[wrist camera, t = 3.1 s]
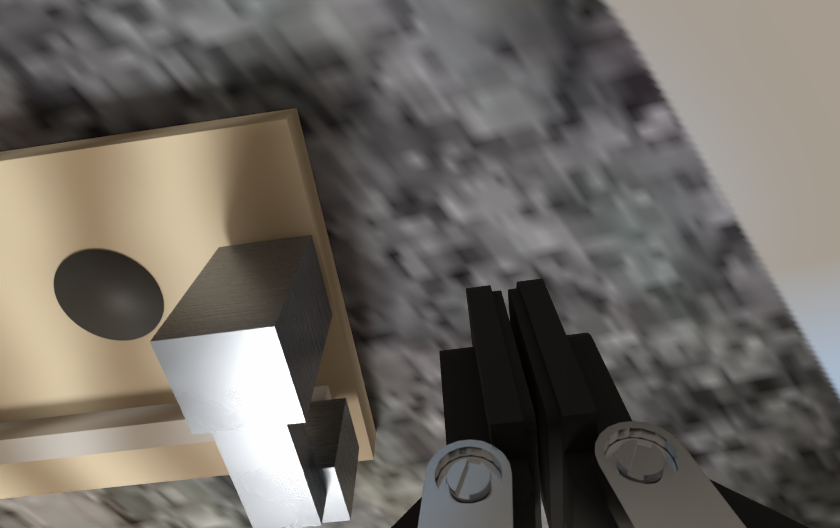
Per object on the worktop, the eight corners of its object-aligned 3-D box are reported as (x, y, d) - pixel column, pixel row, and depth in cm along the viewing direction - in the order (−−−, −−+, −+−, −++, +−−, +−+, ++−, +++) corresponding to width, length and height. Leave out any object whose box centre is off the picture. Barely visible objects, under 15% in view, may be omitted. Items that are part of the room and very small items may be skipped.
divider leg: (312, 232, 17) (274, 326, 12) (362, 423, 21) (346, 549, 16) (220, 244, 17) (149, 341, 13) (286, 431, 21) (249, 558, 16)
